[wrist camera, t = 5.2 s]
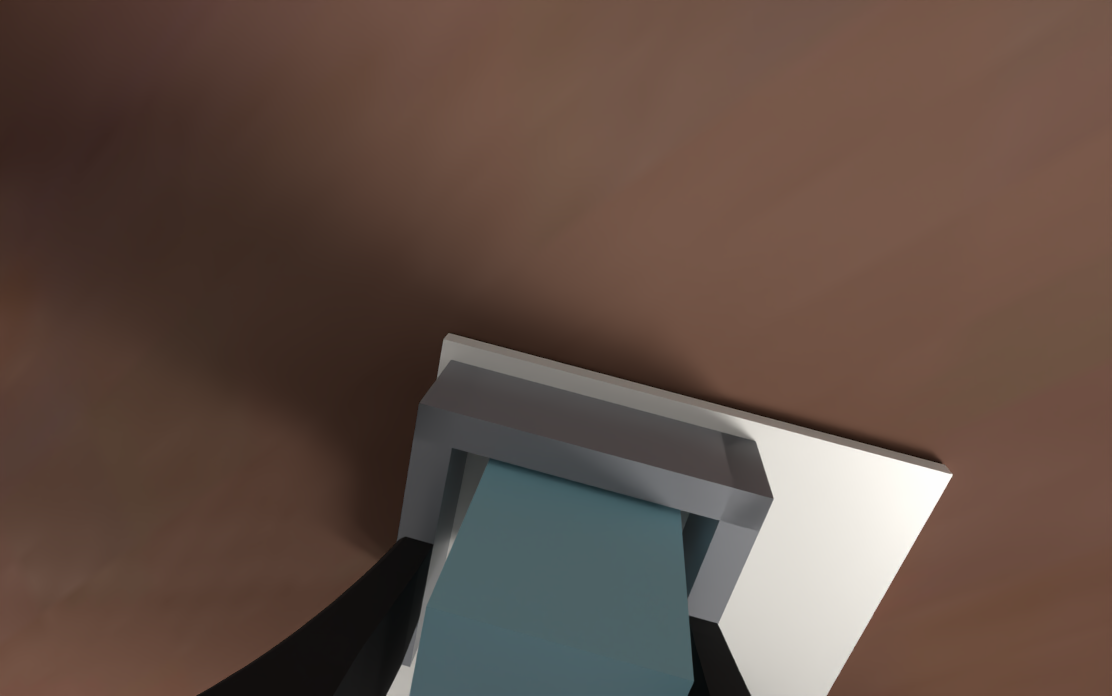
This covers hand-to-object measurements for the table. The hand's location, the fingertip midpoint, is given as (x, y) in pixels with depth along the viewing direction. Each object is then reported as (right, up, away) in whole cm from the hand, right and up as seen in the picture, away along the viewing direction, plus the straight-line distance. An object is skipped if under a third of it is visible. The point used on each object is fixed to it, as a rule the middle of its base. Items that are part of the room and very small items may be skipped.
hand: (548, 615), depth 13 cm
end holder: (0, +1, +3) cm, 3 cm away
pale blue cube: (+1, +2, +3) cm, 3 cm away
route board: (+2, -1, +4) cm, 4 cm away
